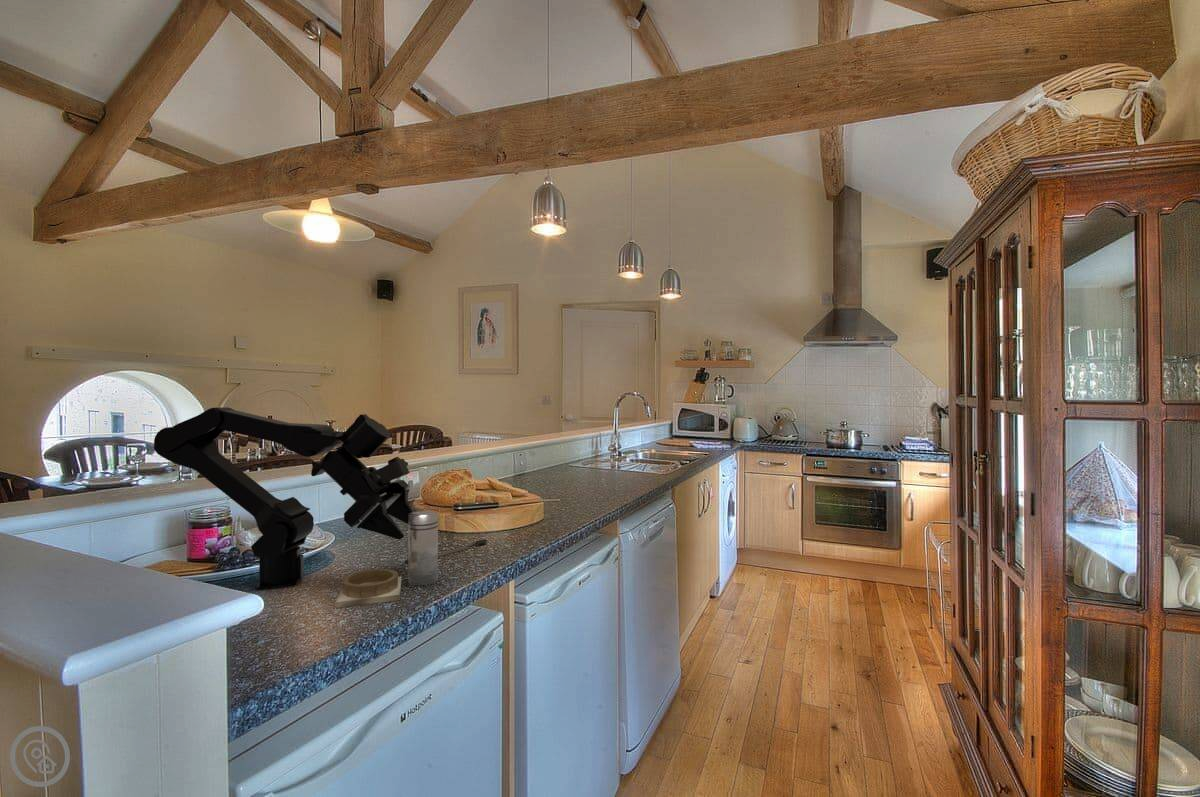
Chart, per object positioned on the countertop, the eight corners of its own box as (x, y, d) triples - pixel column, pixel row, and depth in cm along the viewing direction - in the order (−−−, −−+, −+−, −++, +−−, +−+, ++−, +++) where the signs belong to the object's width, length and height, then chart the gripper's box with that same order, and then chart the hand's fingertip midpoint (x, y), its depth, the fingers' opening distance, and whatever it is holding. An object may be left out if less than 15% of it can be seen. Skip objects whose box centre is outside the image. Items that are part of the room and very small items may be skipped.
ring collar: (335, 608, 88) (335, 590, 88) (344, 587, 98) (344, 571, 98) (399, 600, 92) (399, 583, 92) (401, 581, 101) (401, 565, 101)
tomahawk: (419, 574, 108) (419, 569, 108) (402, 565, 113) (403, 560, 113) (500, 549, 124) (500, 545, 124) (482, 542, 129) (483, 538, 129)
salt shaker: (408, 587, 98) (407, 517, 98) (408, 577, 103) (408, 511, 103) (438, 584, 100) (438, 515, 100) (437, 574, 105) (437, 509, 105)
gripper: (361, 450, 92) (425, 512, 92) (398, 441, 110) (452, 492, 111) (315, 495, 92) (380, 557, 92) (361, 479, 110) (415, 530, 111)
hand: (410, 531), depth 101 cm, fingers open, 9 cm apart
